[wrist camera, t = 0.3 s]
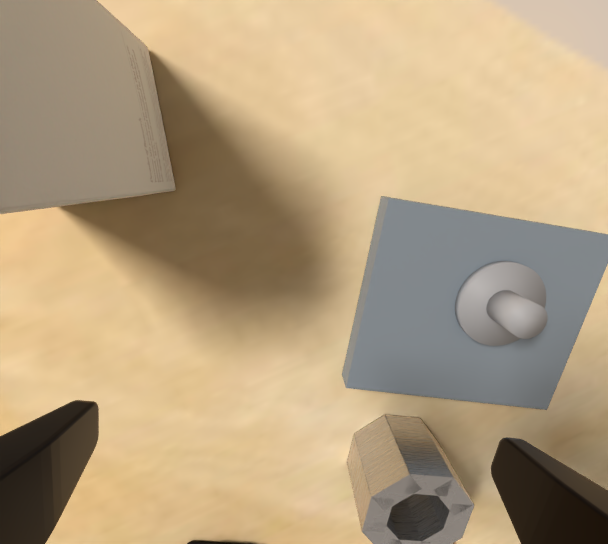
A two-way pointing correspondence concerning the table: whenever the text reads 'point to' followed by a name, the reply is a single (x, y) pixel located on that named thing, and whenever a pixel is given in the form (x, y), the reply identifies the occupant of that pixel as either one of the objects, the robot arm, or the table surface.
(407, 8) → the table surface
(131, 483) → the table surface
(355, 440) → the hub
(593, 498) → the robot arm
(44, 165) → the supplement box
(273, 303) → the table surface
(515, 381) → the block
